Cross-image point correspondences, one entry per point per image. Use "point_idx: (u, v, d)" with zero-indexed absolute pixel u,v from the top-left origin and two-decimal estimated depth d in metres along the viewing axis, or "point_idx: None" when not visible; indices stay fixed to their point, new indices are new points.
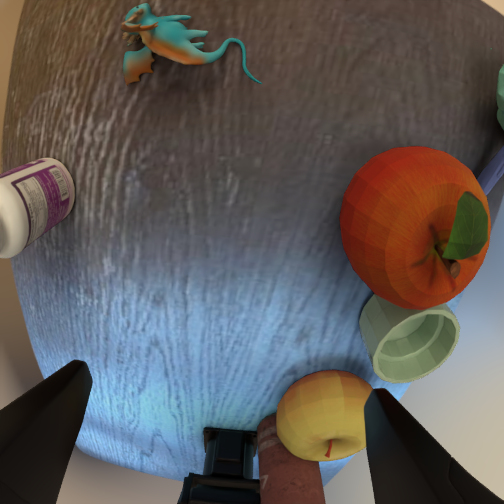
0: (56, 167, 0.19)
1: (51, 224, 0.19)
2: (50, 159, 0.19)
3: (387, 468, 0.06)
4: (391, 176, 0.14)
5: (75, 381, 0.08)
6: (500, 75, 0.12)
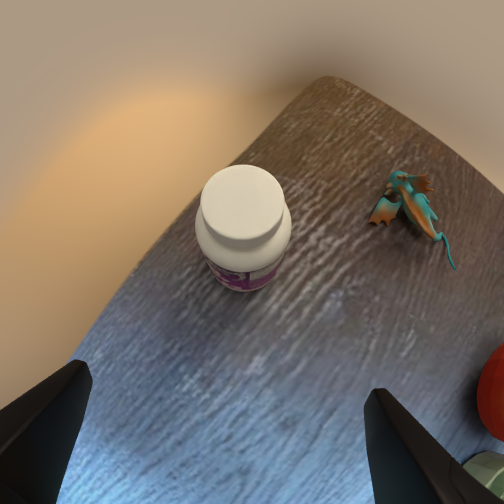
0: None
1: (259, 281, 0.20)
2: None
3: (387, 468, 0.06)
4: None
5: (75, 381, 0.08)
6: None
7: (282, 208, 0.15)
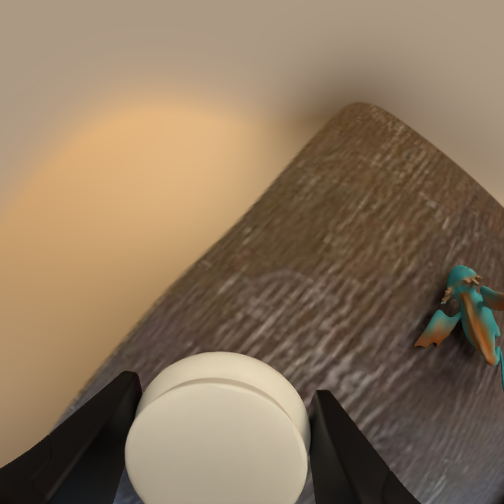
0: None
1: None
2: None
3: (324, 475, 0.06)
4: None
5: (128, 394, 0.08)
6: None
7: (301, 487, 0.05)
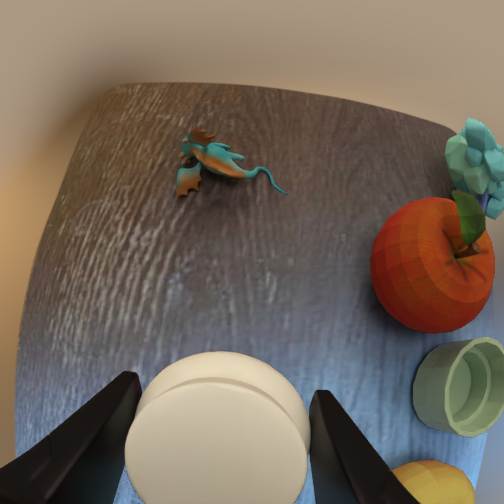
0: None
1: None
2: None
3: (324, 475, 0.06)
4: (402, 214, 0.19)
5: (128, 394, 0.08)
6: (446, 155, 0.23)
7: (301, 486, 0.05)
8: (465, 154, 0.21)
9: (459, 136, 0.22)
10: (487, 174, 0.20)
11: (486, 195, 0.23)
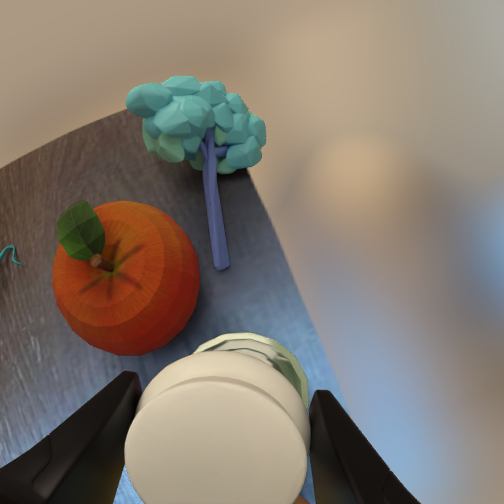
0: None
1: None
2: None
3: (324, 475, 0.06)
4: None
5: (128, 394, 0.08)
6: None
7: (301, 486, 0.05)
8: None
9: None
10: None
11: (210, 151, 0.22)
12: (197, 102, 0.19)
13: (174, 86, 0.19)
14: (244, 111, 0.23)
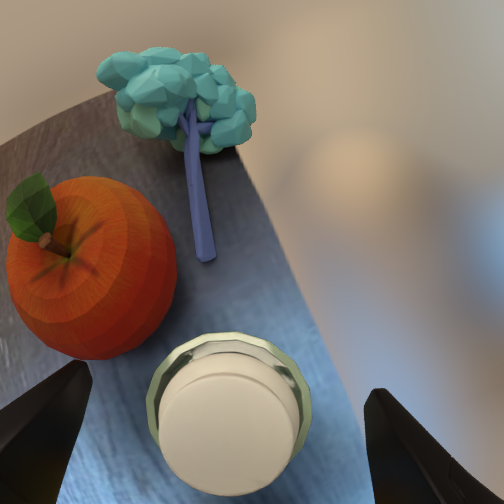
0: None
1: None
2: None
3: (387, 468, 0.06)
4: None
5: (75, 381, 0.08)
6: (118, 117, 0.19)
7: (290, 453, 0.08)
8: None
9: None
10: None
11: (191, 126, 0.19)
12: (175, 69, 0.16)
13: (150, 55, 0.16)
14: (231, 83, 0.20)
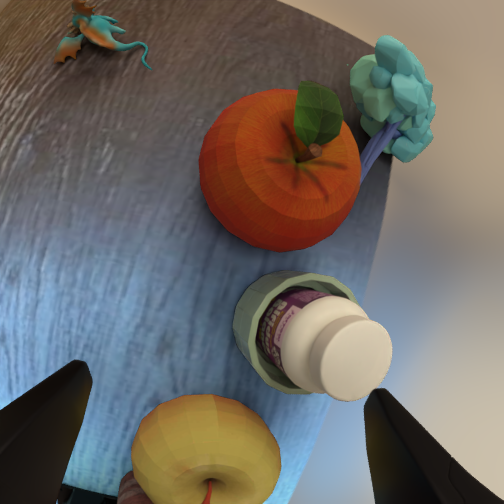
0: None
1: None
2: None
3: (387, 468, 0.06)
4: (244, 98, 0.16)
5: (75, 381, 0.08)
6: (351, 71, 0.20)
7: (376, 387, 0.13)
8: (371, 72, 0.18)
9: (374, 55, 0.19)
10: (393, 100, 0.18)
11: (393, 129, 0.21)
12: None
13: (415, 64, 0.17)
14: (430, 122, 0.22)
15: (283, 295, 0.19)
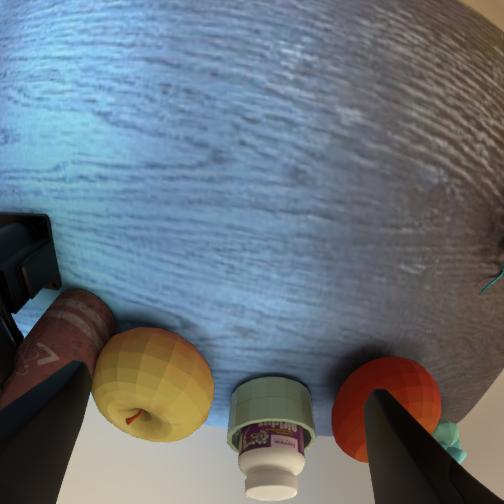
0: None
1: None
2: None
3: (387, 468, 0.06)
4: (438, 401, 0.19)
5: (75, 381, 0.08)
6: (448, 423, 0.24)
7: (252, 498, 0.19)
8: (444, 443, 0.23)
9: (457, 438, 0.23)
10: None
11: None
12: None
13: None
14: None
15: None
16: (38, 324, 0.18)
